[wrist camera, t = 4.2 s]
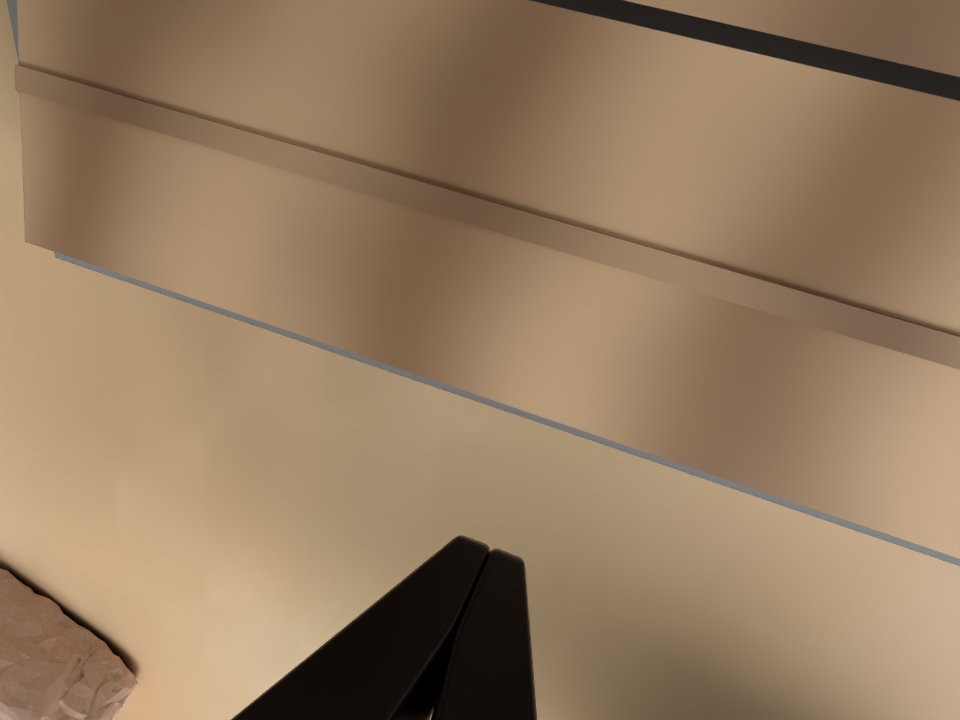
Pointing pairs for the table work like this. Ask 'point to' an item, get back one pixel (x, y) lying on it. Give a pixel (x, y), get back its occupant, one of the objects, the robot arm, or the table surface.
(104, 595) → the table surface
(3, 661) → the brick
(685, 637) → the table surface
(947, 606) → the table surface
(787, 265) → the click plank
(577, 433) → the underlay
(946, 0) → the laid board
